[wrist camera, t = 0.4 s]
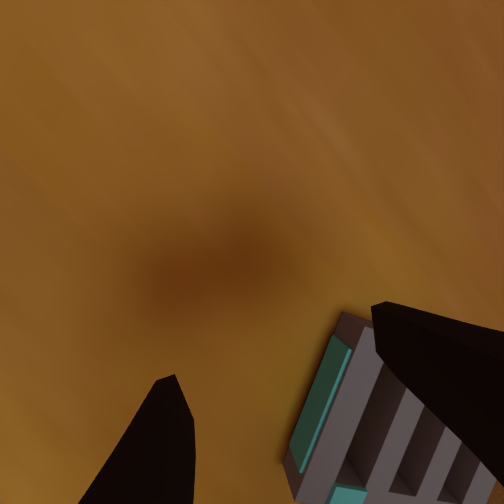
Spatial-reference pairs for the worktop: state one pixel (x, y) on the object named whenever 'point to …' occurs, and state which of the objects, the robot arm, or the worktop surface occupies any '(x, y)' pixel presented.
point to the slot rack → (375, 436)
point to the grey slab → (496, 494)
